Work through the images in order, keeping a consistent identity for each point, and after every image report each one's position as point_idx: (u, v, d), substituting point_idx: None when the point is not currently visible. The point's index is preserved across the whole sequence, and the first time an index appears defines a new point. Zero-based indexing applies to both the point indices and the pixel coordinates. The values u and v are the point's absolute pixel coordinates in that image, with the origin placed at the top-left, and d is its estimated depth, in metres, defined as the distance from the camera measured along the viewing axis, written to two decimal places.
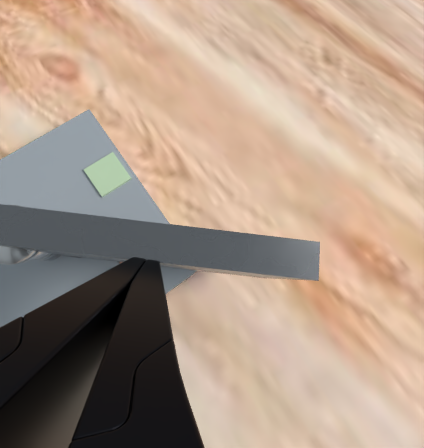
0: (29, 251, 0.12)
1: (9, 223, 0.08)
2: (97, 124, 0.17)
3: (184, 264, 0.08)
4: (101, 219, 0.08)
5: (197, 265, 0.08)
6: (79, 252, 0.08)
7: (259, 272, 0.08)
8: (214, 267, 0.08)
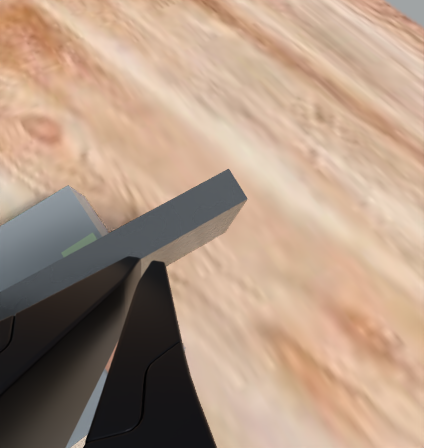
0: None
1: None
2: (76, 201, 0.16)
3: None
4: (34, 277, 0.08)
5: (144, 255, 0.08)
6: None
7: (197, 225, 0.09)
8: (159, 247, 0.08)
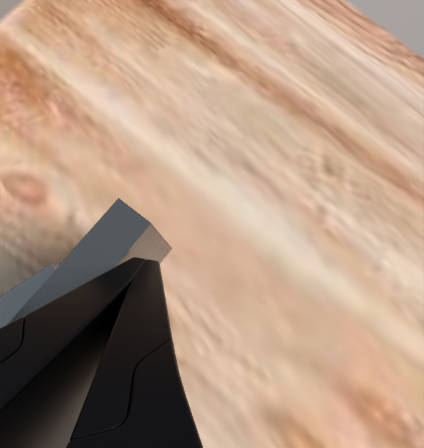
0: None
1: None
2: None
3: None
4: None
5: None
6: None
7: None
8: None
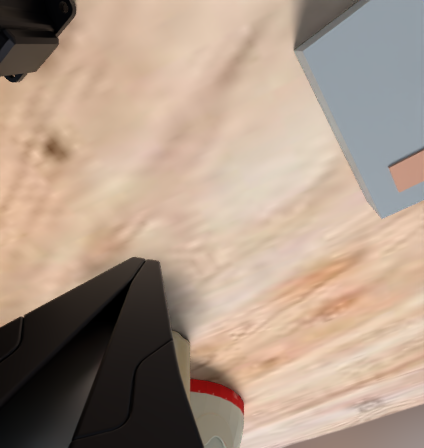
0: None
1: None
2: None
3: None
4: None
5: None
6: None
7: None
8: None
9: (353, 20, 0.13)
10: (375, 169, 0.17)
